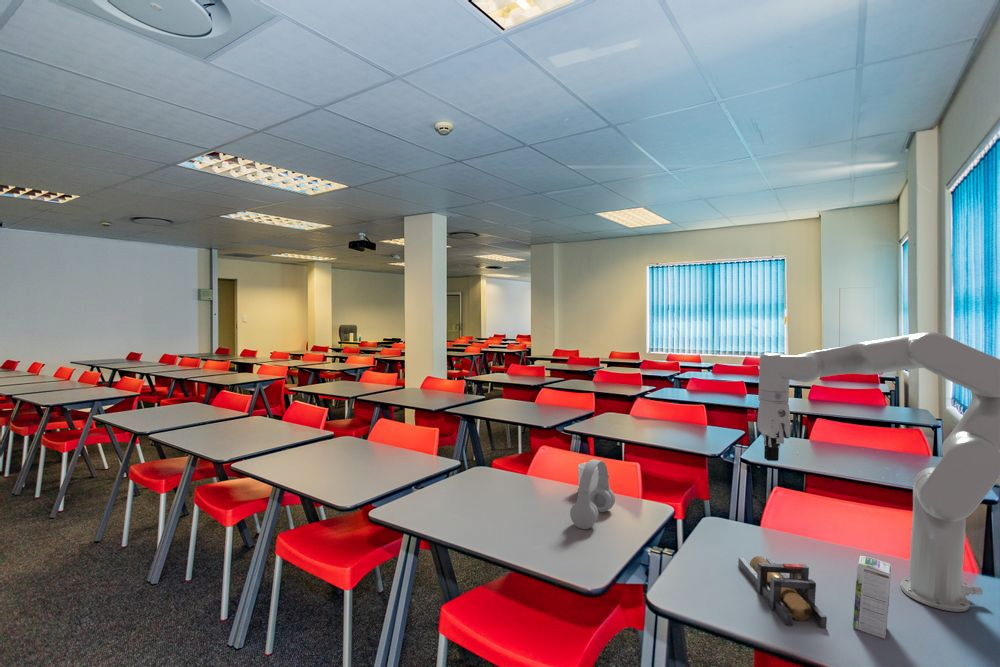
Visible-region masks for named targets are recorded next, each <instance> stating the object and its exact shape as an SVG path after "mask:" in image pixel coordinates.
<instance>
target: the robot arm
mask: <svg viewBox="0 0 1000 667" xmlns="http://www.w3.org/2000/svg"><path fill="white" fill-rule="evenodd" d="M922 368H923V369H925V370H928V372H931V373H933V374H935V375H937V376H939V377H941V378H943V379H945V380H947V381H950V382H952V383H954V384H956V385H957V386H960V387H962V388H964V389H966V390H968V391H970V392H971V400H970V403H969V405H968V408H967V409H966V411H965V412H964V414H963V416H962V417H961V418H960V420H959V421H958V423H957V424H956V425H955V427H954V428H953V429H952V431H951V432H950V433H949V435H948V436H947V437H946V438H945V439H944V441H943V442H942V444H941V450H940V451H941V455H942V457H941V459H940V461H939V462H938V463H937V465H936V466H930V467H926V468H924V469H922V470H921V471H919V472H918V473H917V474H916V476H915V478H914V480H913V486H912V522H911V523H912V526H911V534H910V538H911V539H910V552H909V553H910V554H909V566H908V569H909V570H908V577H907V578H904V579H901V581H900V583H899V588H900V590H901V591H902V592H904V594H906V596H909V597H910V598H912V599H913V600H915V601H917V602H919V603H921V604H923V605H926V606H929V607H932V608H934V609H935V608H936V609H938V610H941V611H942V610H943V611H948V612H955V613H956V612H957V613H958V612H959V613H960V612H967V611H968V610H969V609H970V601H969V600H968V598H967V597H966V596H969V595H974V596H976V595H977V596H980V595H981V596H982V595H983V594H984V593H983V592H984V591H983V588H982V587H981V586H979V585H968V584H967V582H966V581H965V580H963V569H964V568H963V566H964V554H965V552H964V551H965V541H966V526H967V525H966V522H967V519H966V518H968V517H969V516H970V515H971V514H973V513H974V512H975V510H976V509H977V508H978V507H979V505H980V504H981V503H982V502H983V501H984V499H985V498H986V496H987V495H988V494H989V493H990V491H991V490H992V488H994V486H995V485H996V484H997V483H998V482H999V480H1000V358H997V357H995V356H993V355H990V354H988V353H985V352H984V351H982V350H979V349H977V348H974V347H971V346H970V345H967V344H964V343H962V342H960V341H958V340H956V339H953V338H952V337H949V336H948V335H945V334H943V333H940V332H935V331H923V332H917V333H910V334H904V335H898V336H893V337H885V338H880V339H875V340H869V341H868V340H867V341H862V342H858V343H854V344H853V343H852V344H850V345H845V346H839V347H833V348H827V349H822V350H821V349H820V350H815V351H808V352H803V353H800V354H797V355H796V354H795V355H792V354H791V355H789V354H786V353H782V352H765V353H762V354H761V355H760V356H759V370H758V371H759V373H758V375H759V376H758V401H759V403H758V411H757V430H758V431H759V432H760V434H761V436H762V437H763V444H764V456H763V457H764V460H767V461H768V462H769V461H770V462H779V456H780V453H779V452H780V447H781V445H783V444H785V439H786V440H787V439H790V438H791V434H792V433H791V411H790V405H789V402H790V401H789V398H790V396H789V395H790V381H794V382H801V383H811V382H813V381H816V380H817V379H818V378H823V377H831V376H838V375H847V374H848V375H851V374H857V375H866V376H867V375H877V374H879V375H880V374H886V373H892V372H893V373H894V372H900V371H907V370H908V371H909V370H915V369H917V370H918V369H922Z"/></svg>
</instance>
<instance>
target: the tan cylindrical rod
mask: <svg viewBox="0 0 1000 667" xmlns="http://www.w3.org/2000/svg"><path fill="white" fill-rule="evenodd" d="M749 561H750V562H749V565H750V566H751V567H752V568H753V569H754V570H755V572H756V573H757V572H758V563H768V562H767V561H766V559H765V557H764V556H763V557H762V556H759V555H757V556H754V557H753V558H752V559H750V560H749ZM771 577H776V578H783V577H782V576H781V575H780V574H779V573H774V572H767V586H768V587H769V588H770V584H771ZM781 602H782V603H783V604H784V606H785V607H786V608H787V609H788V610H789V611H790V613H791V614H792V615H793V617H792V618H793V619H795V620H797V621H799V622H804V621H807V620H808V619H810V618H811V614H812V609H811V607H810V605H809V604H808V603H807V602H806V601H805V600H804V599H803V598H802V597H801V596H800V595H799V594H798V593H797V592H796V591H795V590H794V589H793V588H783V587H781Z"/></svg>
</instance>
